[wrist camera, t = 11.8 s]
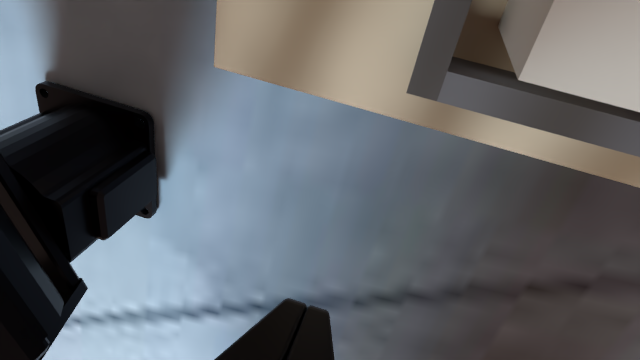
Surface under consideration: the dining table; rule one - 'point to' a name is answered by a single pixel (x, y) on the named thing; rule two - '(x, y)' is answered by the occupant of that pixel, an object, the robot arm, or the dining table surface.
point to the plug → (577, 47)
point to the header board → (425, 74)
